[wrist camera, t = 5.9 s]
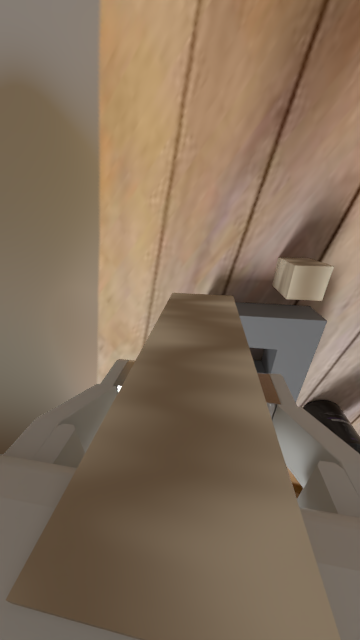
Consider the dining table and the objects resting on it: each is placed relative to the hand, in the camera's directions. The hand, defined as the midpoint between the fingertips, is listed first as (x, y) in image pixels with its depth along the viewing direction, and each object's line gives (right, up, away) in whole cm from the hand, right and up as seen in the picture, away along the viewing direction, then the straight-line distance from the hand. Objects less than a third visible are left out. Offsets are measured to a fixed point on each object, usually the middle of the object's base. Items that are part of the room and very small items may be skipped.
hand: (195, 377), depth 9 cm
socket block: (+11, -2, +25) cm, 27 cm away
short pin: (+15, +9, +19) cm, 26 cm away
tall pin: (+1, +2, +5) cm, 6 cm away
